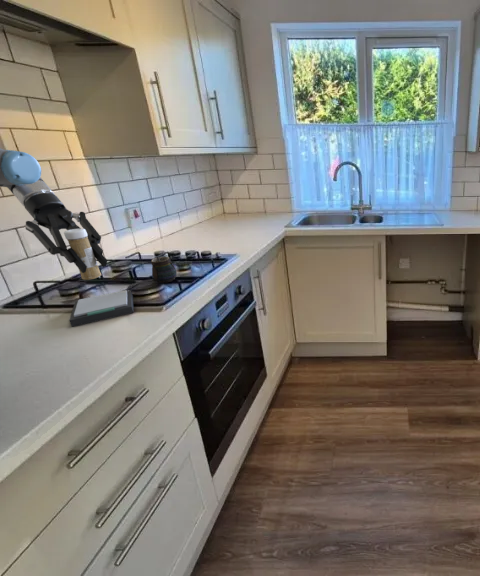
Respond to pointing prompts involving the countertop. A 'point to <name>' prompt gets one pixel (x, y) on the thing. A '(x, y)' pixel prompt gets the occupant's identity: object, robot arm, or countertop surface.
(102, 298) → the scale
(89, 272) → the sprinkles bottle
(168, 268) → the mate gourd
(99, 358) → the countertop surface
